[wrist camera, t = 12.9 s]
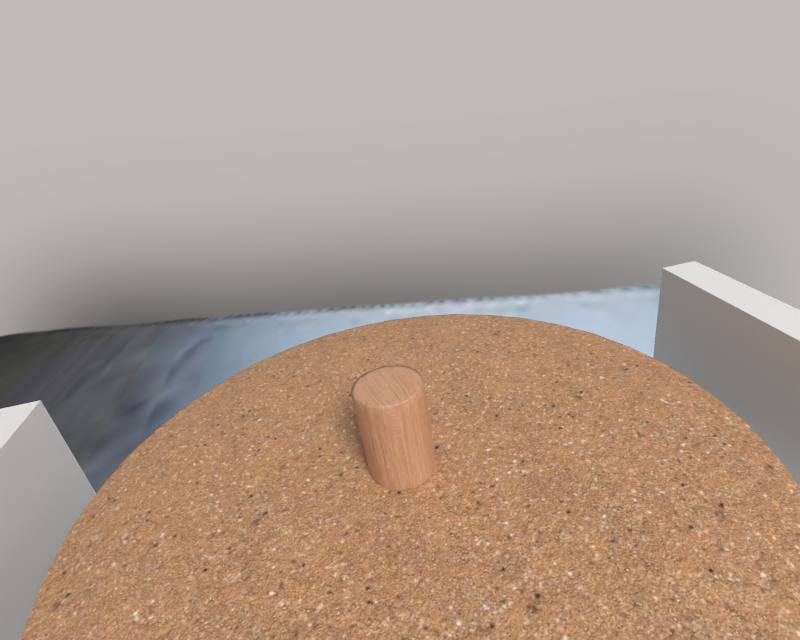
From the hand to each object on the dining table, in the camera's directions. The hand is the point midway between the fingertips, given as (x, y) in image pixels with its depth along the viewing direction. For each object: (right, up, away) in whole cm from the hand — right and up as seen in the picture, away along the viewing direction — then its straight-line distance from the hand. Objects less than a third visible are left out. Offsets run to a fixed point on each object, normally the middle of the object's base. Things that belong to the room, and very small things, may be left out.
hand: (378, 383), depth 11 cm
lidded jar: (+2, -8, +1) cm, 8 cm away
